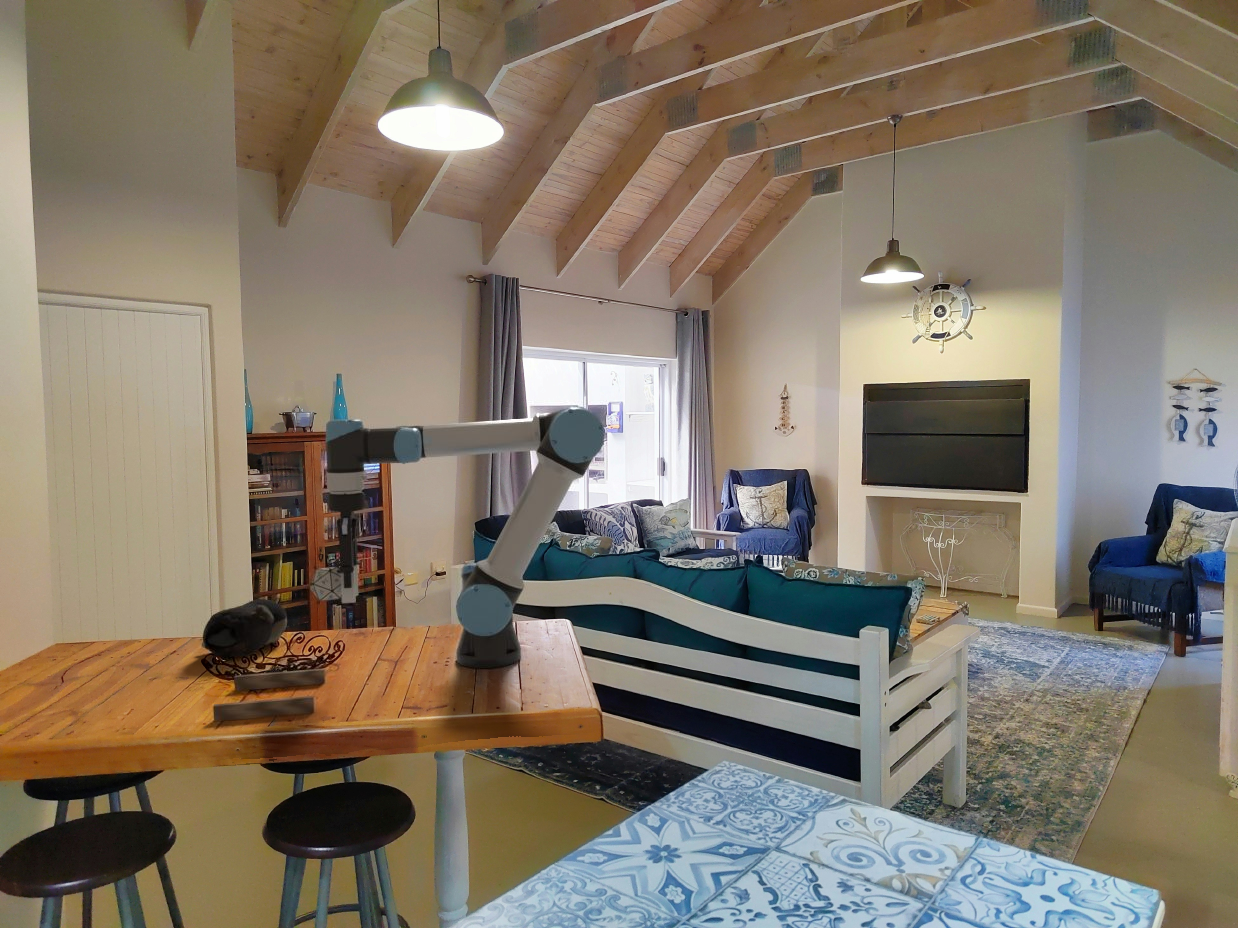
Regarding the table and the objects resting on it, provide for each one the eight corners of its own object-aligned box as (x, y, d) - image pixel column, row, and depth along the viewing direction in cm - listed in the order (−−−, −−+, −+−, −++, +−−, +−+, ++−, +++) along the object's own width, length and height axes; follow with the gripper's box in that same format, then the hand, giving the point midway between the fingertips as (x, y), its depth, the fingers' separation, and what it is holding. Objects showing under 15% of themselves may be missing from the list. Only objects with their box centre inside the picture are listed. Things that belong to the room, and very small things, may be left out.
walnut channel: (325, 681, 173) (324, 668, 173) (313, 712, 156) (313, 697, 156) (235, 689, 169) (235, 675, 169) (213, 721, 152) (213, 706, 152)
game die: (334, 620, 168) (339, 588, 162) (297, 606, 168) (301, 574, 162) (353, 591, 175) (358, 561, 170) (317, 578, 175) (321, 547, 169)
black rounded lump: (200, 683, 189) (173, 634, 188) (252, 652, 209) (228, 607, 209) (267, 651, 185) (240, 600, 184) (313, 622, 206) (289, 577, 205)
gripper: (361, 495, 161) (365, 608, 162) (368, 487, 179) (371, 588, 181) (322, 497, 159) (326, 610, 161) (332, 488, 177) (336, 590, 179)
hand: (350, 598), depth 171 cm, fingers closed on game die, 6 cm apart
